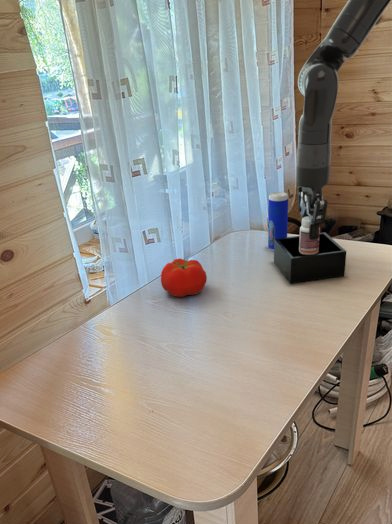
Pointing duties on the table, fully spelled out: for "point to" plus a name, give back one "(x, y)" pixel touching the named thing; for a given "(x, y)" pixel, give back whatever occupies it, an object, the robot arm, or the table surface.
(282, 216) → the blue cylindrical container
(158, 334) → the table surface
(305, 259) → the black storage bin
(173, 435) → the table surface
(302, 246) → the pill bottle
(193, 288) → the tomato
